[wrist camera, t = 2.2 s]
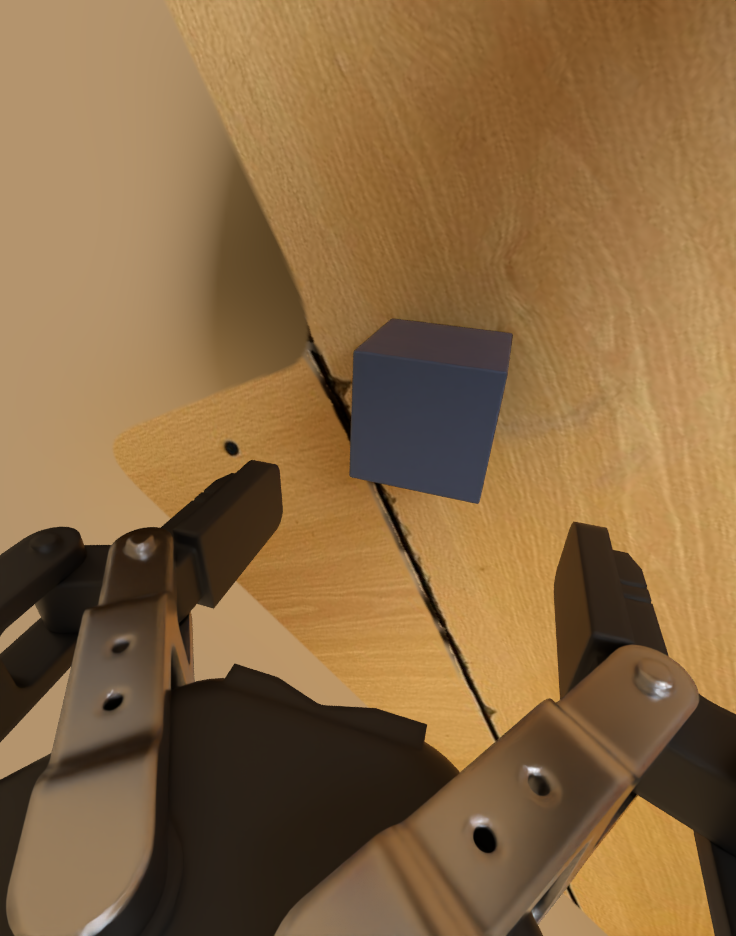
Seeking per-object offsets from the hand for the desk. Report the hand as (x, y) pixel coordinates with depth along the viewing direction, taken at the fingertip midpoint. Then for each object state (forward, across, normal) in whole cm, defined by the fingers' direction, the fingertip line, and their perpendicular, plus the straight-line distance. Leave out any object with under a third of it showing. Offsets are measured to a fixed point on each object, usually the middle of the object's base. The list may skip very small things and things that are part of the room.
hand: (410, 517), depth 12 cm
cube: (+9, +1, -1) cm, 9 cm away
